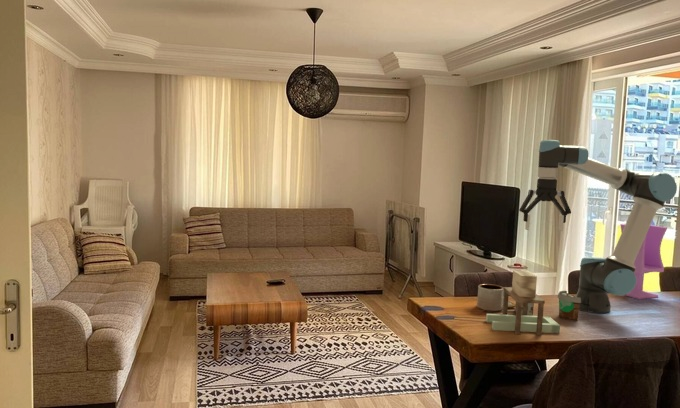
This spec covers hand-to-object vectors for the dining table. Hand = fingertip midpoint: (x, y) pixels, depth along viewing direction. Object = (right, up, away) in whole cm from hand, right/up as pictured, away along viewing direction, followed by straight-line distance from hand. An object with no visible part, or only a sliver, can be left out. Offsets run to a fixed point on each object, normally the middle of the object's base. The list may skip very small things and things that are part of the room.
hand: (543, 230), depth 221 cm
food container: (+11, -37, +5) cm, 39 cm away
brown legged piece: (-13, -37, -10) cm, 41 cm away
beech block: (-12, -24, -11) cm, 29 cm away
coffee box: (-5, -36, +9) cm, 37 cm away
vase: (+65, -35, +50) cm, 89 cm away
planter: (-18, -35, +15) cm, 42 cm away
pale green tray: (-12, -37, -10) cm, 41 cm away
